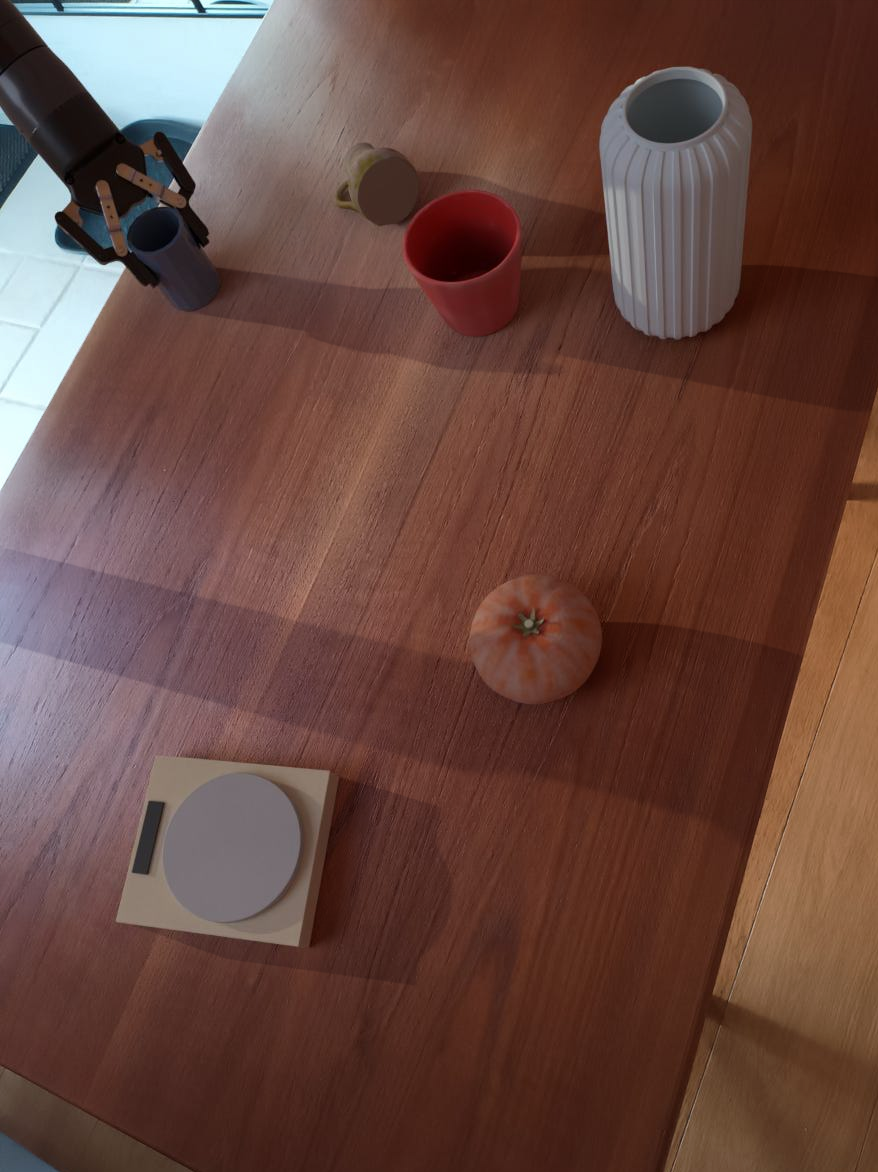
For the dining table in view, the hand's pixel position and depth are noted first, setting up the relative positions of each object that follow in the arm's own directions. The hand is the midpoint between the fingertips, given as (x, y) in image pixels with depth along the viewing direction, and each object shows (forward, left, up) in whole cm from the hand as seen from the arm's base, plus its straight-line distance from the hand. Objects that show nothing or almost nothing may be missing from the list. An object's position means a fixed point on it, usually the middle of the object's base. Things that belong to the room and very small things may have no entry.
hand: (181, 264), depth 101 cm
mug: (+18, +12, -5) cm, 22 cm away
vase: (+50, -2, -5) cm, 50 cm away
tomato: (+41, -38, -5) cm, 56 cm away
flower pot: (+31, -2, -5) cm, 31 cm away
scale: (+17, -57, -5) cm, 59 cm away
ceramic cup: (-1, +1, -5) cm, 5 cm away
